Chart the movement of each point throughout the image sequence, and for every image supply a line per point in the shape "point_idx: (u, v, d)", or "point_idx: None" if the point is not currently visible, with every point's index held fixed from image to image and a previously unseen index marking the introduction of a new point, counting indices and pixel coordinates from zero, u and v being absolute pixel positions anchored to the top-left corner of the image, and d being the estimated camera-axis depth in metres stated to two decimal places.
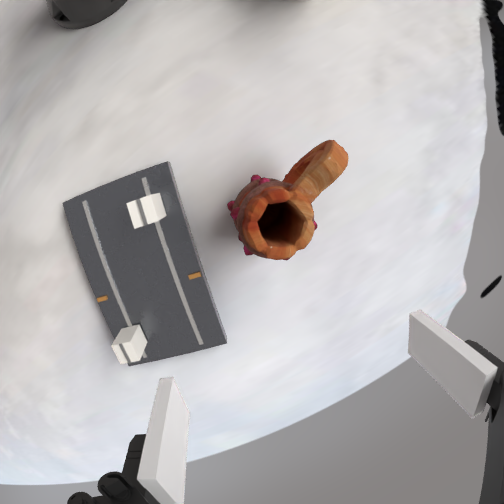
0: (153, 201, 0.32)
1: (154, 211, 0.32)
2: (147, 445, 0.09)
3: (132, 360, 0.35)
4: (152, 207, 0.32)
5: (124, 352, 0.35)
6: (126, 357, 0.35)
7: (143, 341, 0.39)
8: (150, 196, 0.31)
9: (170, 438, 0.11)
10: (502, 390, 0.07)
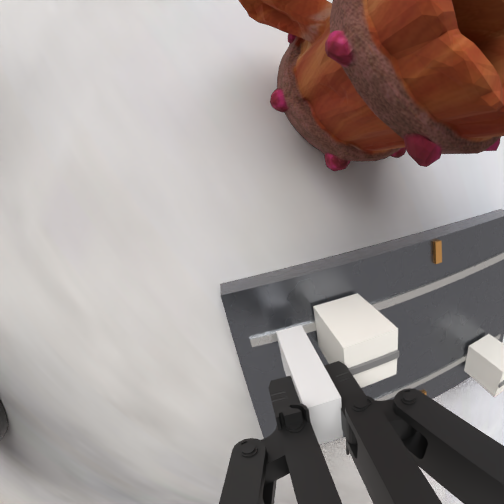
0: (356, 339, 0.13)
1: (378, 338, 0.13)
2: (298, 380, 0.12)
3: None
4: (370, 343, 0.13)
5: None
6: None
7: (491, 342, 0.20)
8: (346, 348, 0.13)
9: None
10: (354, 429, 0.09)
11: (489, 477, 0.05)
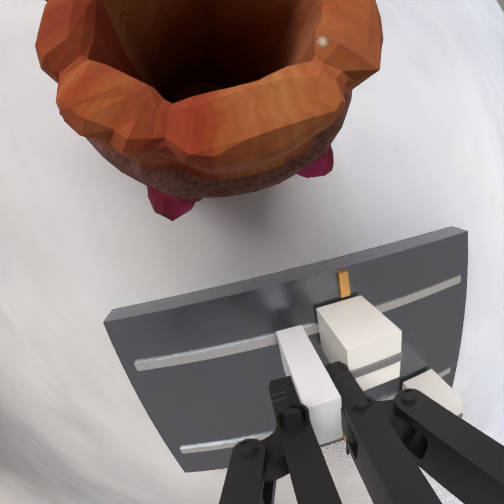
0: (359, 341, 0.13)
1: (382, 340, 0.13)
2: (298, 380, 0.12)
3: (459, 412, 0.16)
4: (373, 346, 0.13)
5: None
6: None
7: (431, 379, 0.19)
8: (350, 350, 0.13)
9: None
10: (354, 429, 0.09)
11: (488, 477, 0.05)
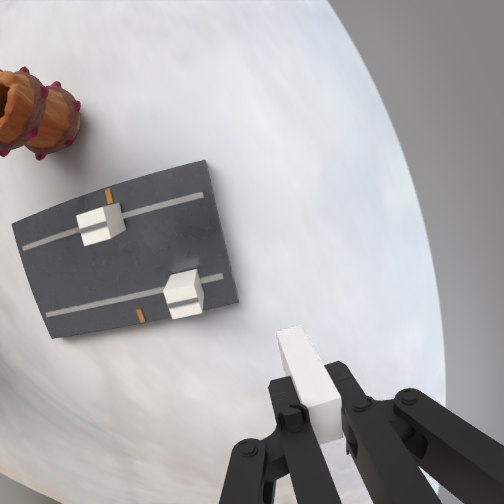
0: (84, 213, 0.25)
1: (92, 211, 0.25)
2: (298, 380, 0.12)
3: (194, 295, 0.28)
4: (88, 214, 0.25)
5: (179, 303, 0.28)
6: (188, 302, 0.28)
7: (188, 273, 0.31)
8: (77, 216, 0.25)
9: None
10: (354, 429, 0.09)
11: (489, 477, 0.05)
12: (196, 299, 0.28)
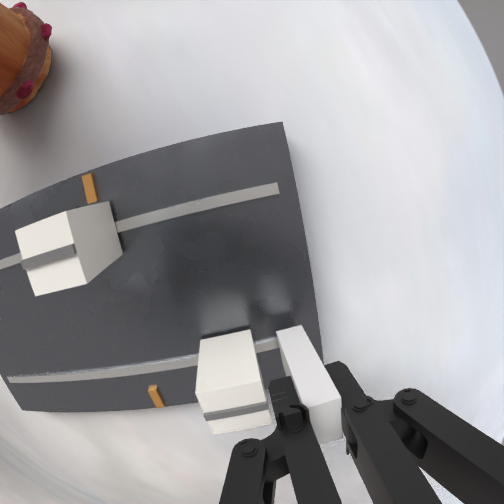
0: None
1: (45, 222, 0.10)
2: (298, 380, 0.12)
3: (260, 398, 0.13)
4: (38, 228, 0.10)
5: (230, 413, 0.13)
6: (247, 411, 0.13)
7: (238, 342, 0.16)
8: (18, 231, 0.10)
9: None
10: (354, 429, 0.09)
11: (488, 477, 0.05)
12: (265, 406, 0.13)
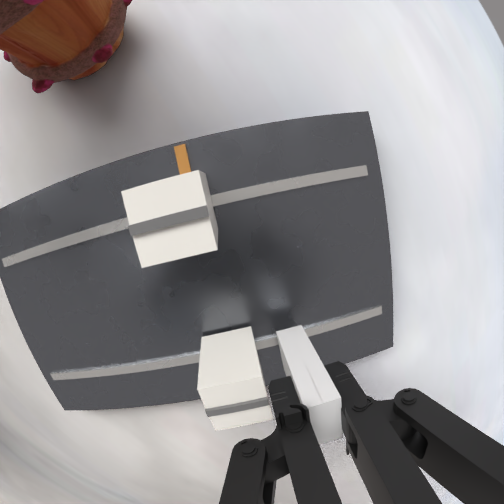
0: None
1: (169, 181, 0.10)
2: (298, 380, 0.12)
3: (261, 393, 0.13)
4: (157, 188, 0.10)
5: (232, 409, 0.13)
6: (248, 407, 0.13)
7: (239, 339, 0.16)
8: (126, 192, 0.10)
9: None
10: (354, 429, 0.09)
11: (488, 477, 0.05)
12: (266, 401, 0.13)
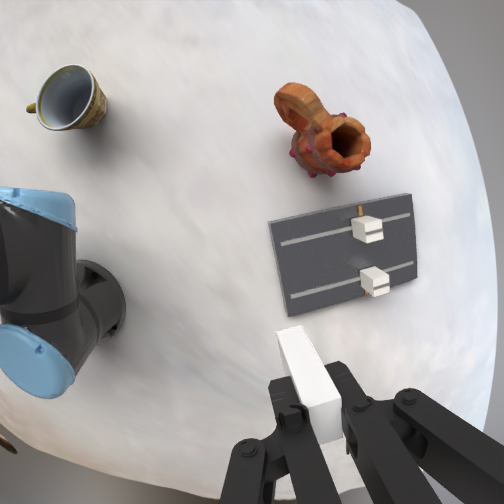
0: (367, 222, 0.42)
1: (375, 222, 0.42)
2: (298, 380, 0.12)
3: (387, 281, 0.45)
4: (372, 223, 0.42)
5: (380, 286, 0.45)
6: (384, 285, 0.45)
7: (373, 269, 0.48)
8: (365, 223, 0.42)
9: None
10: (354, 429, 0.09)
11: (489, 477, 0.05)
12: (389, 283, 0.45)
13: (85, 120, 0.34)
